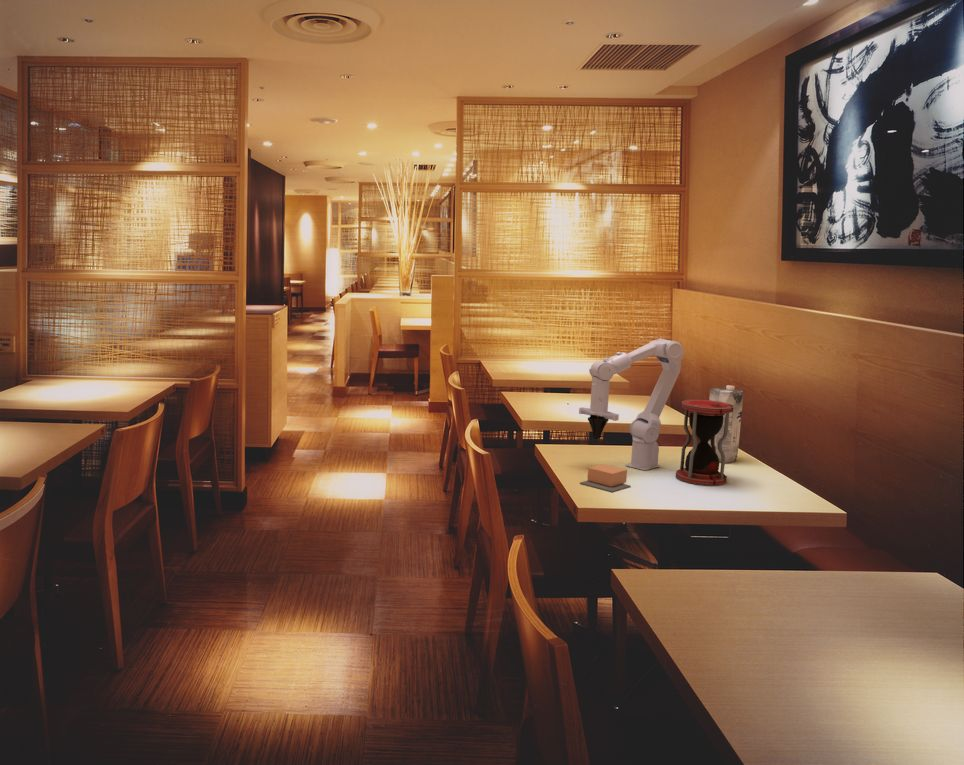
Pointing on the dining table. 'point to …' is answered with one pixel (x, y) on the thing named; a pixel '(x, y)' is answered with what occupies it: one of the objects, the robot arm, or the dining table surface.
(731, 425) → the juice carton
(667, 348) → the robot arm
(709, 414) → the hourglass
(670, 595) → the dining table surface
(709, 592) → the dining table surface
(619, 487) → the charcoal mat
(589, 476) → the orange rectangular block
